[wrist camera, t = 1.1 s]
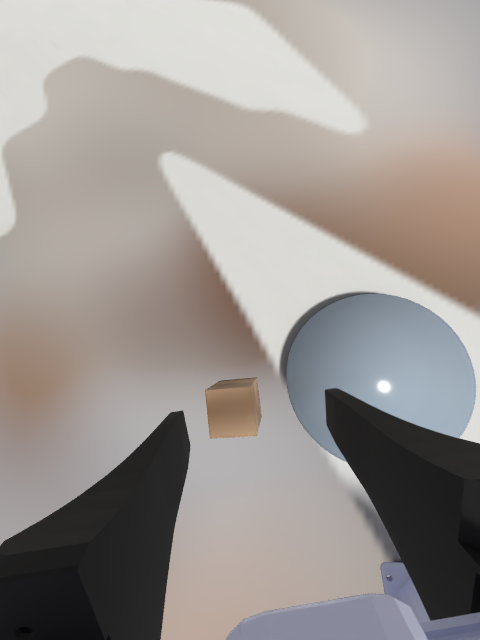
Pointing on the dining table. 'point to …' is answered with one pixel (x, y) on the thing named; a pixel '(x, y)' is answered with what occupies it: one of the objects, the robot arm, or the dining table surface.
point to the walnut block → (233, 408)
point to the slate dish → (381, 365)
